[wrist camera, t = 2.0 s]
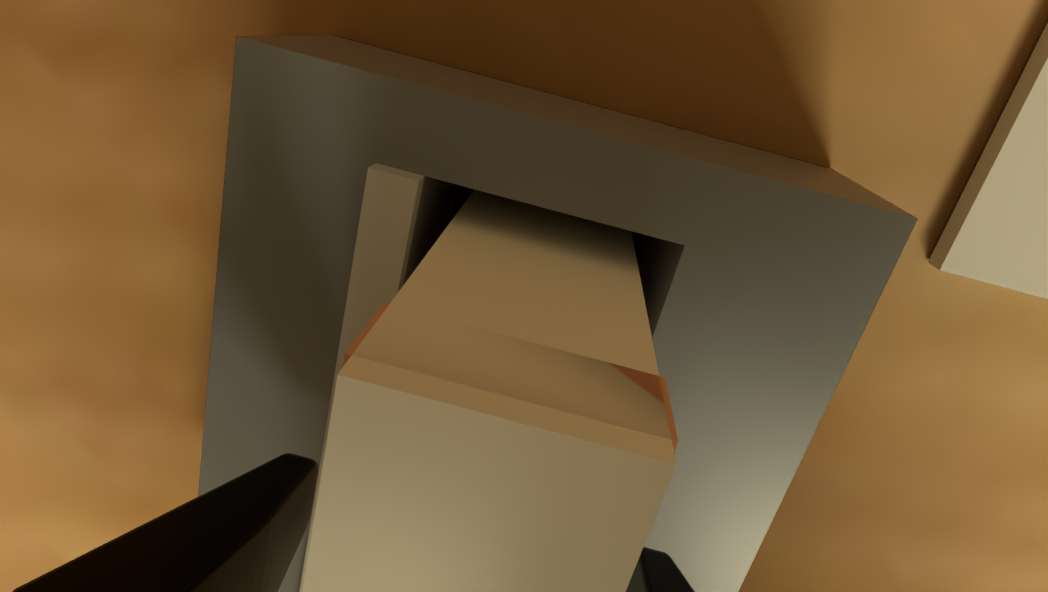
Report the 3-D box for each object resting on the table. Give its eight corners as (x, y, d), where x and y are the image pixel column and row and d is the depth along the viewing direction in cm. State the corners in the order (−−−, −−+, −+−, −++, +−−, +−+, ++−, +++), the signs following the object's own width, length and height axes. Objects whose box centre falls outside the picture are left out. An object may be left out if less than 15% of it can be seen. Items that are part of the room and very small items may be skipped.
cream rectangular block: (526, 542, 14) (468, 997, 7) (406, 510, 14) (240, 937, 7) (630, 213, 11) (683, 466, 5) (482, 174, 11) (331, 371, 5)
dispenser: (636, 634, 14) (648, 798, 11) (264, 535, 14) (175, 673, 11) (832, 169, 11) (930, 225, 8) (330, 34, 11) (222, 36, 8)
